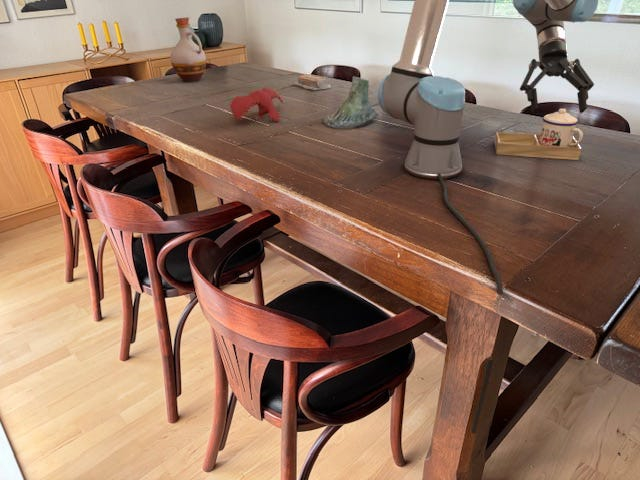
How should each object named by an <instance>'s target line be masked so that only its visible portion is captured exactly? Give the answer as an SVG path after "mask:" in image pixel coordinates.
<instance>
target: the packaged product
mask: <svg viewBox="0 0 640 480" xmlns="http://www.w3.org/2000/svg"><path fill="white" fill-rule="evenodd" d="M293 85H294V86H298V87H301V88H304V89H305V90H309V91H315V92H316V91H320V90H326V89H331V84H328V80H327V79H326V78H323V77H320V76H316V75H312V74H310V73H304V74H302V75H299V76H298V77H297V81H296V82H293Z"/></svg>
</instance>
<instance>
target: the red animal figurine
mask: <svg viewBox="0 0 640 480" xmlns="http://www.w3.org/2000/svg"><path fill="white" fill-rule="evenodd" d="M274 99H278V100H279V101H280V103H281V104H284V102H283V100H282V98H281V96H280V95H279V93H278V92H276V91H275V90H273V89H271V88H267V87H263V88H261V90H259V89H257V90H255V91H252V92H249V94H248V95H245V96H238V95H237V96H235V97H234V98H233V99H232V100H231V103H230V105H229V107H230V109H231V114H232V116H233V117H234V118H235V120H236V121H239V120H243V117H245V116H246V114H245V113H247V114H248V113H249V110H251V108H253V107H254V106H257V107H258V112H257V116H254V119H255V120H258V118H259V117H260V118H261V119H262V118H263V116H265V115H266V114H267V117H269V119H271V120H272V121H273V123H278V122H279V121H280V115H281V114H280V111H278V110H276V109H275V106H274V102H273V100H274Z"/></svg>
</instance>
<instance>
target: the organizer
mask: <svg viewBox="0 0 640 480" xmlns="http://www.w3.org/2000/svg"><path fill="white" fill-rule="evenodd" d="M539 137H540V134H537V133H521V132H503V131H496V132H495V136H494V149H495V154H496V155H499V156H500V155H504V156H515V157H531V158H544V159H545V158H546V159H558V160H570V161H571V160H573V161H578V160H579V159H580V156H581V153H582V149H583V148H582V147H581V145H580V143H579V144H577V145H575V146H570V147H556V146H541V145H539V142H538V141H539ZM577 141H578V140H577V139H576V138H575V136H573V138H572V141H571V143H576V142H577Z"/></svg>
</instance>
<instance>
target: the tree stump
mask: <svg viewBox="0 0 640 480" xmlns="http://www.w3.org/2000/svg"><path fill="white" fill-rule="evenodd" d="M369 83H370V81H369V79H365V78H361V77H357V76H352V79H351V86H350V90H349V92H348V97H347V99H345V100H344V101H342V102H343V104H342V105H341V106H340V107H339V108H338V109H335V110H334V112H333V113H330V115H329V116H327V117H325V118H324V119H323V121H322V124H323V125H325V126H326V127H328V128H333V129H338V130H339V129H342V130H352V129H358V128H361V127H364V126H367V125H368V124H370V123H371V122H372V121H373V120H375V118H377V117H378V116H379V111H378V110H375V109H373V108H372V105H371V102H370V101H369V87H370V86H369Z"/></svg>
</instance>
